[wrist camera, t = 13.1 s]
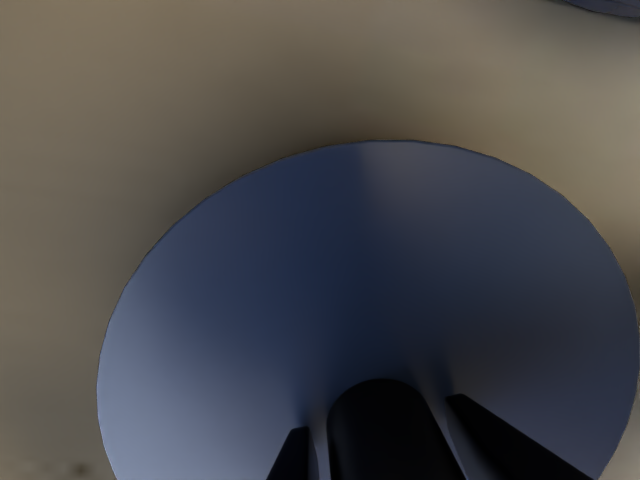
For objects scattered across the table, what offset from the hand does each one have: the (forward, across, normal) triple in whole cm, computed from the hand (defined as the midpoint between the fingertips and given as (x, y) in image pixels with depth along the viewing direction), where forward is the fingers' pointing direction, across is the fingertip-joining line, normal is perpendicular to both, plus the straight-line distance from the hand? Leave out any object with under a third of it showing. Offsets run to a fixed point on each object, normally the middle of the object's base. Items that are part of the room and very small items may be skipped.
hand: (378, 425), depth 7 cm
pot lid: (+1, 0, 0) cm, 1 cm away
